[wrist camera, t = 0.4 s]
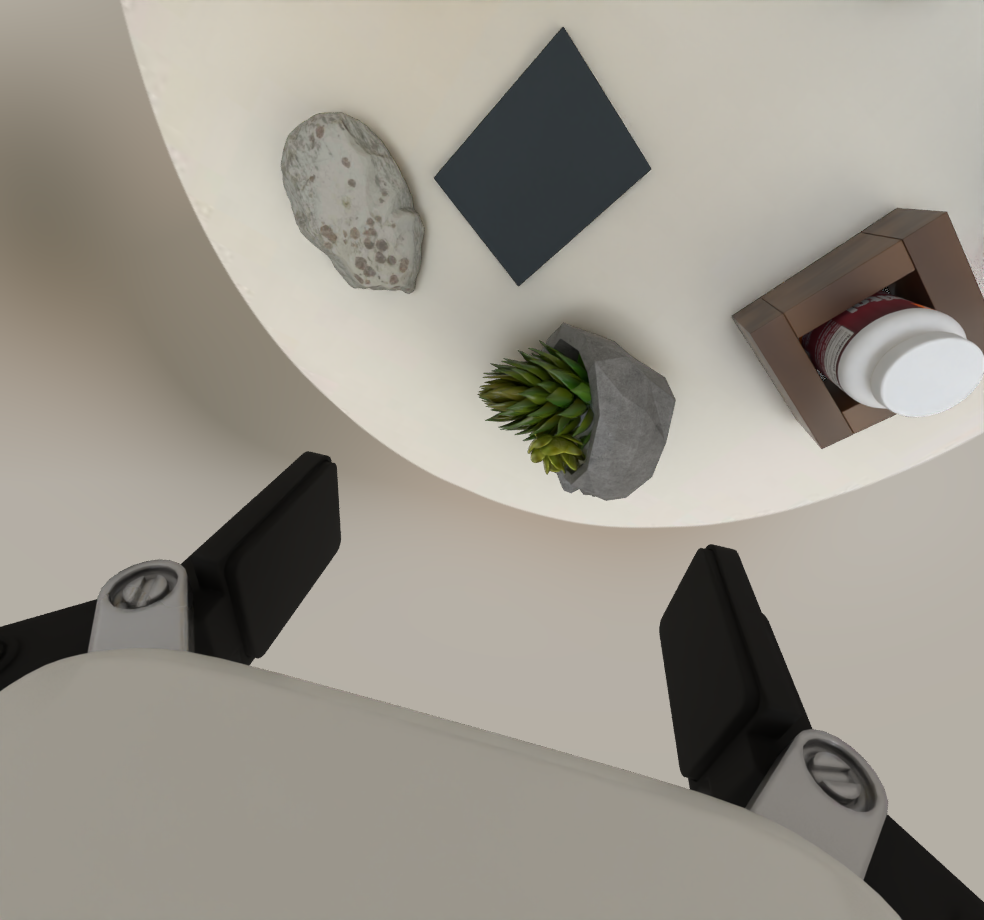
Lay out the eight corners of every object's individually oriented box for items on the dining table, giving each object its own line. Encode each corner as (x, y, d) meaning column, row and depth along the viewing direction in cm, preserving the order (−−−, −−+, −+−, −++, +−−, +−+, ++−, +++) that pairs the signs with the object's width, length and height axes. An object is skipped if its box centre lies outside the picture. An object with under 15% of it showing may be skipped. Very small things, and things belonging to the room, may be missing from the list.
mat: (563, 28, 28) (563, 25, 28) (650, 168, 31) (651, 168, 31) (435, 177, 34) (433, 177, 33) (519, 285, 37) (518, 286, 36)
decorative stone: (279, 222, 38) (240, 227, 34) (330, 87, 32) (291, 73, 28) (399, 316, 40) (376, 331, 36) (466, 205, 34) (448, 208, 30)
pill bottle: (907, 285, 32) (1036, 326, 22) (869, 368, 35) (968, 434, 26) (811, 282, 33) (896, 320, 24) (782, 364, 36) (847, 425, 27)
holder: (897, 207, 30) (947, 211, 25) (957, 339, 33) (1010, 361, 29) (731, 316, 35) (749, 333, 31) (796, 420, 38) (821, 449, 34)
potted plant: (603, 505, 42) (448, 475, 39) (622, 375, 44) (474, 336, 40) (689, 509, 31) (478, 467, 27) (710, 333, 32) (514, 272, 29)
